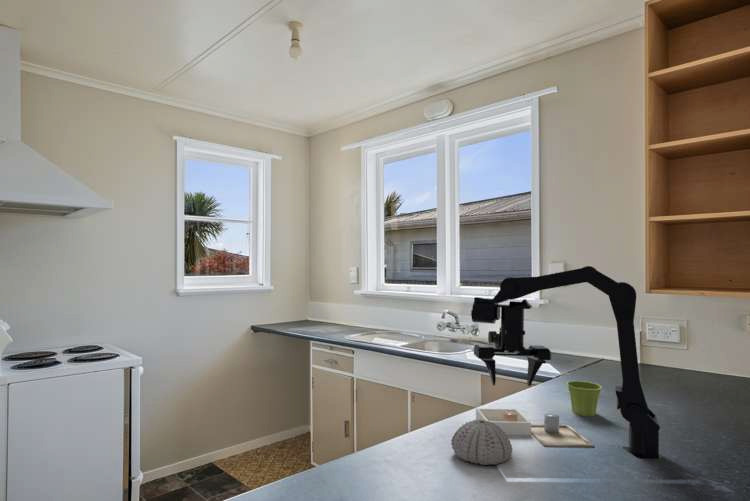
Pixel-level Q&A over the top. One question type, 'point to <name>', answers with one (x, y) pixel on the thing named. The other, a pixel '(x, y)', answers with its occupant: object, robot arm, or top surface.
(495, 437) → the sea urchin shell
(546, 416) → the slate pebble
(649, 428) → the robot arm
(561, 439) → the parts tray
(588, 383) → the plant pot
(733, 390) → the top surface
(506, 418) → the peach rounded cylinder
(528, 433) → the square storage bin
